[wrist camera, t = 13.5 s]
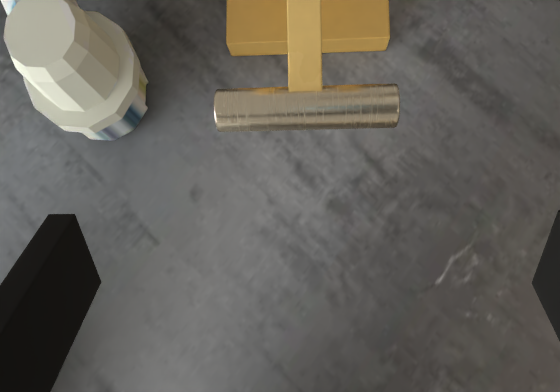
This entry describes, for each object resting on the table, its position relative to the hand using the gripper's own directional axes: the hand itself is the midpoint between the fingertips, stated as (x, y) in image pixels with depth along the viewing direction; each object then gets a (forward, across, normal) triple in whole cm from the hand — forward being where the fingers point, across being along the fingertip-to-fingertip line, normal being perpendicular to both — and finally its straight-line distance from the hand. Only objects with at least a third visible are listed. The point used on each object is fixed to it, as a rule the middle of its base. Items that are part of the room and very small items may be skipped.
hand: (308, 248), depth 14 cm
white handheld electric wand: (+19, +15, -5) cm, 25 cm away
